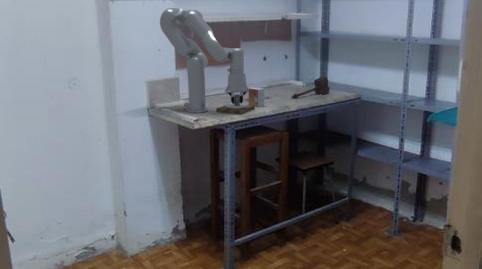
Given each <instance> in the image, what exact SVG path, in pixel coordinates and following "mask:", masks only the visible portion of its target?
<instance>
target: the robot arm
mask: <svg viewBox="0 0 482 269" xmlns="http://www.w3.org/2000/svg"><path fill="white" fill-rule="evenodd" d="M203 17H204V16H203V14H202V13H201V12H200V11H199V10H197V9H187V8H179V7H168V8H166V9H165V10H163V12H162V13H161V15H160V17H159V24H160V29H161V31H162V32H163V34H164V35H165V37H166V38H167V39H168V41H169V42H170V44H171V45H172V47H173V48H174V49H175V51H176V52H177V53H178V55H179V56H181V57H186V59H187V61H186V71H187V87H188V90H187V91H188V92H187V93H188V102H184V103H183V107H187V108H186V112H187V113H193V114H198V113H199V114H201V113H207V112H209V107H206V103H207V102H206V77H205V69H206V68H207V67H208V64H209V60H208V57H207V56H206V55H205V53H204V52H203V50H202V49H201V48H200V46H199V45H198V44H197V43H196V41H195V40H193V39H191V38H187V36H186V35H184V33H183V31H182V30H181V29H180V28H179V27H178V26H177V25H179V24H180V25H186V26H188V27H189V29H190V30H191V31H192V32H193V33H194V34H195V36H196V37H197V38H198V39H199V40H200V42H201V44H202V45H203V47H204V49H206V51H207V53H209V55H210V56H211V57H212V58H213V59H214V61H215V62H217V63H221V64H222V63H225V62H227V61H229V68H227V72H229V73H228V77H227V86H226V88H225V90H224V92H225V93H226V94H227V95H229V96H230V103H231V102H232V104H234V95H235V93H238V92H239V93H240V94H239V95H240V103H241V104H242V103H244V96H245V95H246V94H247V93H249V87H248V86H247V75H246V73H245V72H244V70H245V68H244V67H245V66H244V60H245V58H244V57H245V56H244V49H243V48H239V47H234V48H232V47H231V48H230V47H222V46H221V44H220V43H219V42H218V41H217V39H216V37H215V34H214V32H213V29H212V28H211V26H209V24H207V22H206V21H205V20H204V18H203Z"/></svg>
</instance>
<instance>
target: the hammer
mask: <svg viewBox="0 0 482 269" xmlns="http://www.w3.org/2000/svg"><path fill="white" fill-rule="evenodd" d="M329 82H330V81H329V79H328V77H327V76H321V77H319V78H316V79H314V82H313V84H314V88H311V89H308V90H306V91H303V92H300V93H294V94H293V95H291V99H297V98H299V97H300V96H304V95H306V94H309V93H311V92H314V93H316V94H315V95H320V94H322V95H321V96H324V95H325V94H328V93H329V92H330V89H331V88H330V87H329Z"/></svg>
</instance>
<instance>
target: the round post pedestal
mask: <svg viewBox="0 0 482 269" xmlns="http://www.w3.org/2000/svg"><path fill="white" fill-rule="evenodd" d="M240 95H241V94H234V95H233V96H234V104H232V102H231V101H230V102H226V103H225V104H224V106H225V107H226V108H229V109H242V108H246V105H247V103H246V102H242V104H241V103H240Z"/></svg>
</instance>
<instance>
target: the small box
mask: <svg viewBox="0 0 482 269" xmlns="http://www.w3.org/2000/svg"><path fill="white" fill-rule="evenodd" d="M248 89H249V91H248V105H251V106H255V108H260V107H261V108H262V107H264V106H265V88H260V87H248Z"/></svg>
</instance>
